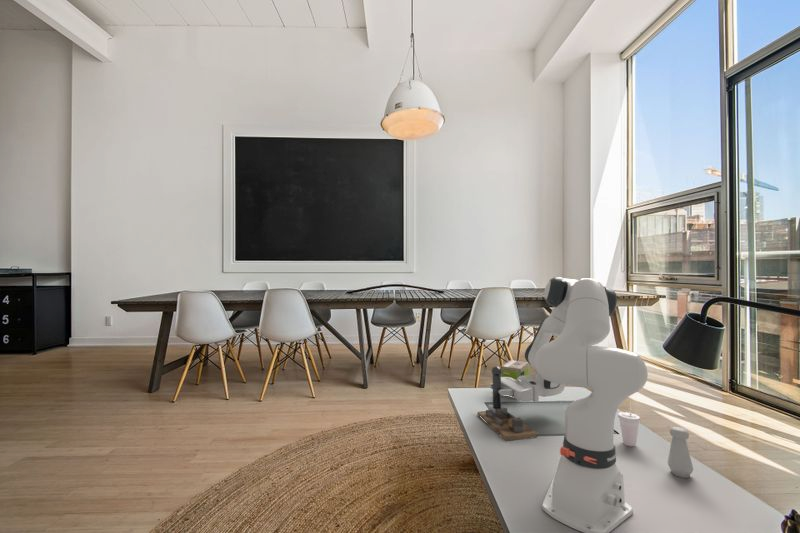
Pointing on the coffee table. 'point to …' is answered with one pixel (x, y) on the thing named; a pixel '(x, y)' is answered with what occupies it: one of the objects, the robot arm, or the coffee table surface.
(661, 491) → the coffee table surface
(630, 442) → the smoothie
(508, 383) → the robot arm
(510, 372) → the tea box
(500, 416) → the handle slide
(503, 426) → the base
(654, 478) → the coffee table surface
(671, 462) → the salt shaker
